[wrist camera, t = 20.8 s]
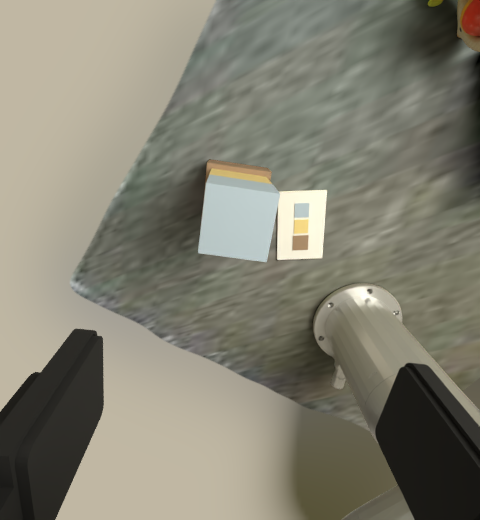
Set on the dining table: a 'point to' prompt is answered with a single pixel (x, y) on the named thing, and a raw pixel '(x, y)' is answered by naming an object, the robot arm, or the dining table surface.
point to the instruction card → (301, 224)
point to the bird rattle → (467, 21)
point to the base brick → (235, 170)
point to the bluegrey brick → (238, 218)
